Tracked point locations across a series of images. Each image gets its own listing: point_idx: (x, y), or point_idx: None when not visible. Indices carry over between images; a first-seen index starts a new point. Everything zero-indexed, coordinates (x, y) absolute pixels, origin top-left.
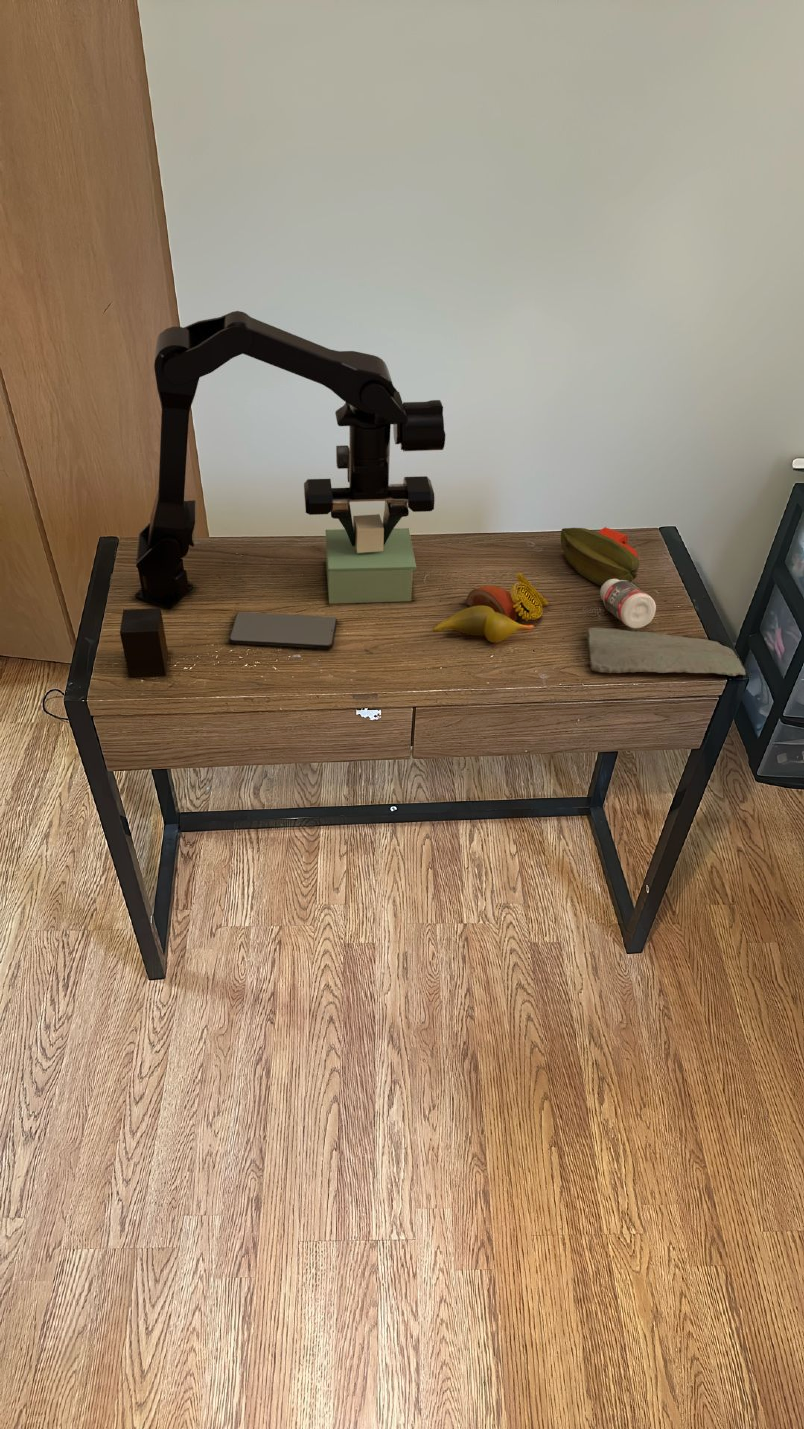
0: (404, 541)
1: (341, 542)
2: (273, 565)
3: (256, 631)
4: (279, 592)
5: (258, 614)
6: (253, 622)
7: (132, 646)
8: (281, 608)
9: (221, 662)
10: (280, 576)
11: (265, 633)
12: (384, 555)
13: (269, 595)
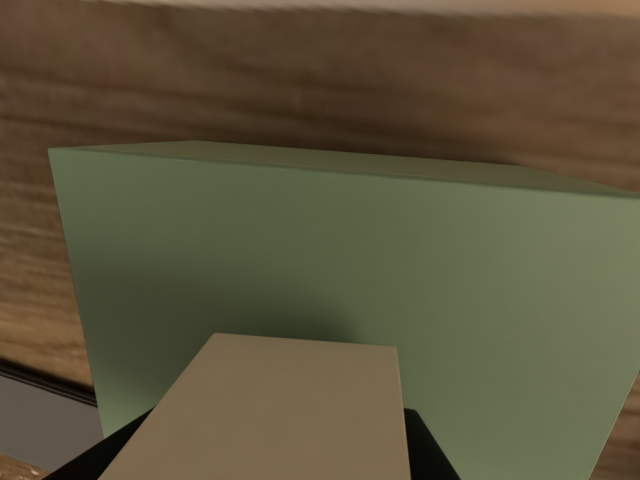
0: (579, 372)
1: (157, 307)
2: (15, 124)
3: (34, 441)
4: (65, 278)
5: (22, 389)
6: (19, 412)
7: None
8: (83, 347)
9: (4, 474)
10: (51, 196)
11: (55, 453)
12: None
13: (41, 287)
